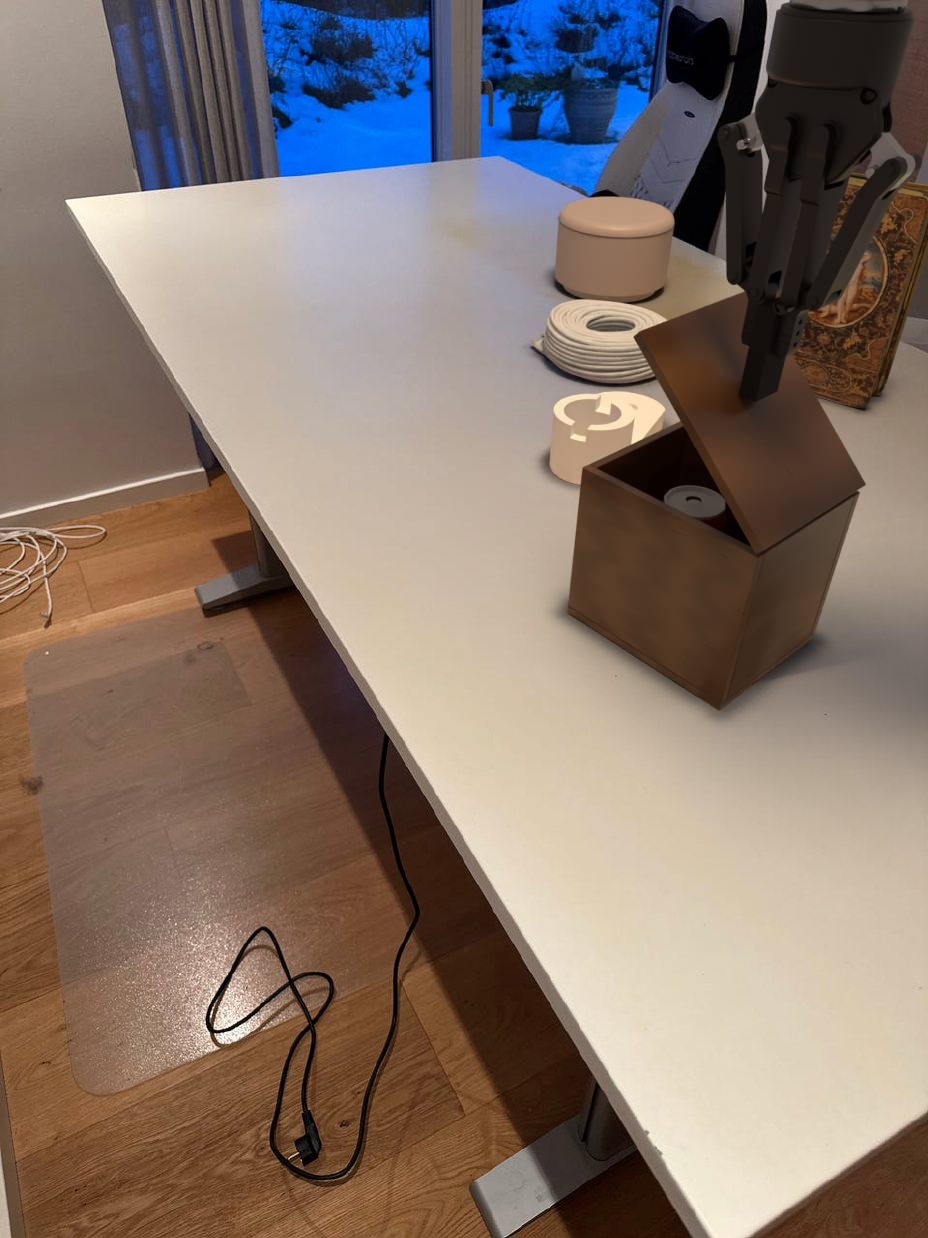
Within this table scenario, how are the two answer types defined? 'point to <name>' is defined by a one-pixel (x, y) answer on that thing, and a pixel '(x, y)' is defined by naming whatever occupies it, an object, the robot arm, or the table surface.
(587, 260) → the container
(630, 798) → the table surface
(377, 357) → the table surface
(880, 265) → the book
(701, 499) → the soda can
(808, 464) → the lid
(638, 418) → the bracket
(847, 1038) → the table surface
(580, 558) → the bin
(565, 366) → the cable
